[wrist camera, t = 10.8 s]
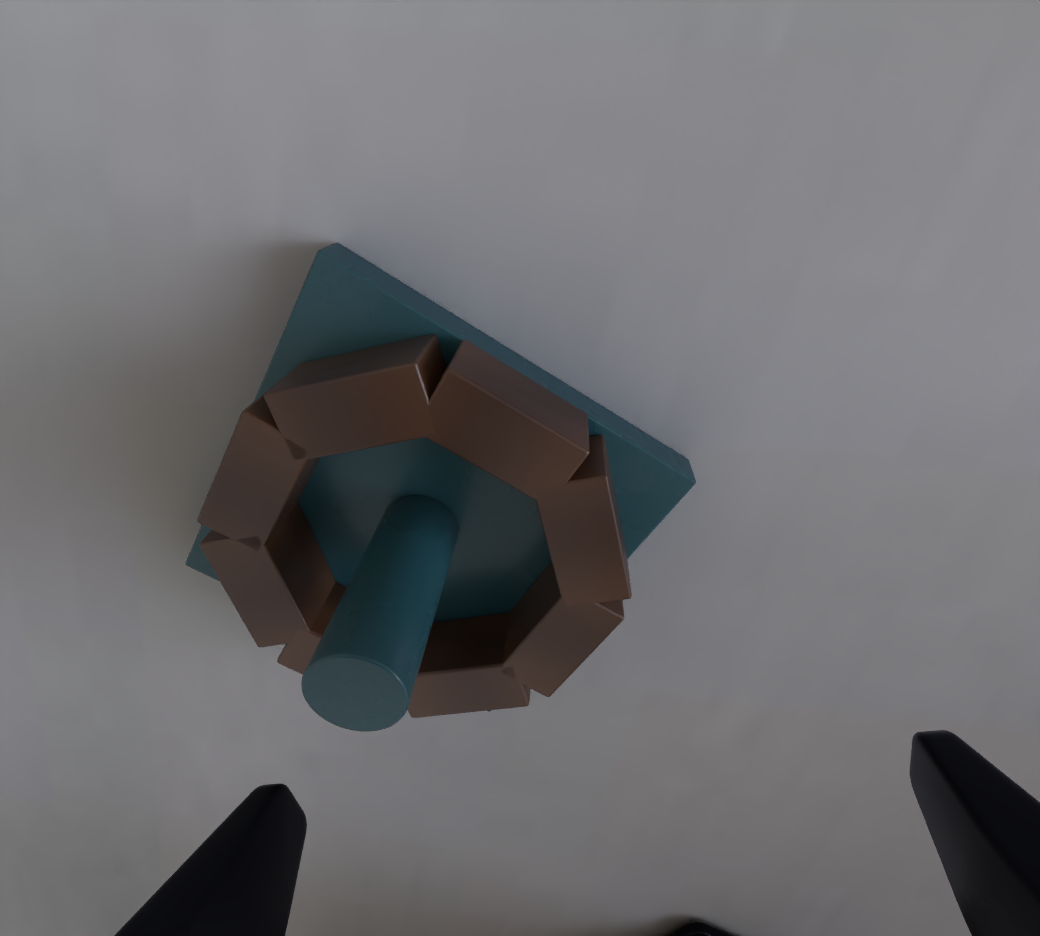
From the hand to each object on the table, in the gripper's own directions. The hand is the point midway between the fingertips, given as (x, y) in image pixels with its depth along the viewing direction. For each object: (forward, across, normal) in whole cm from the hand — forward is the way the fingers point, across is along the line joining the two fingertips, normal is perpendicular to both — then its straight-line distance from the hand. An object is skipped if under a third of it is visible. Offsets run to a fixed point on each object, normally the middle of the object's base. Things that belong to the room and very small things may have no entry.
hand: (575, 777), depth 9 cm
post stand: (+9, +4, 0) cm, 10 cm away
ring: (+8, +4, 0) cm, 8 cm away
